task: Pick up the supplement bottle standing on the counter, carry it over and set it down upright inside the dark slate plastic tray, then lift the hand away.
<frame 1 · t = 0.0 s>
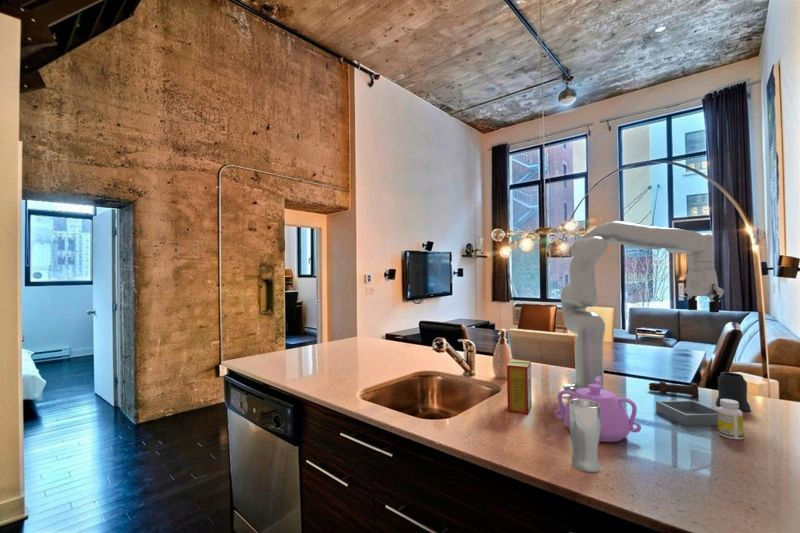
hand: (703, 311, 144), 31 cm above the worktop, tool pointing down, fingers open, 9 cm apart
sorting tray: (690, 418, 119), on the worktop
beer glass: (585, 467, 90), on the worktop
purple lidded sugar bowl: (596, 431, 110), on the worktop
supplement bottle: (730, 436, 106), on the worktop
mug: (731, 406, 129), on the worktop
baking soda box: (519, 409, 129), on the worktop
bolt: (672, 395, 143), on the worktop
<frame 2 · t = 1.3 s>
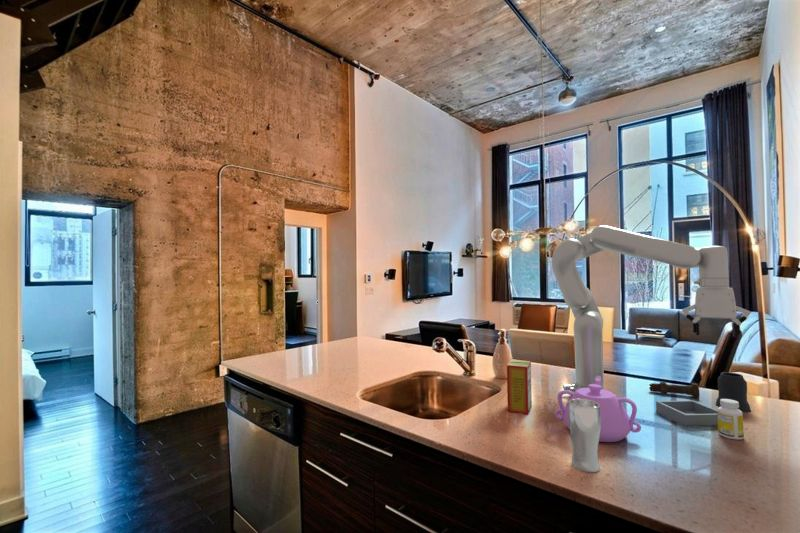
hand: (715, 335, 124), 25 cm above the worktop, tool pointing down, fingers open, 9 cm apart
nothing on the worktop moved.
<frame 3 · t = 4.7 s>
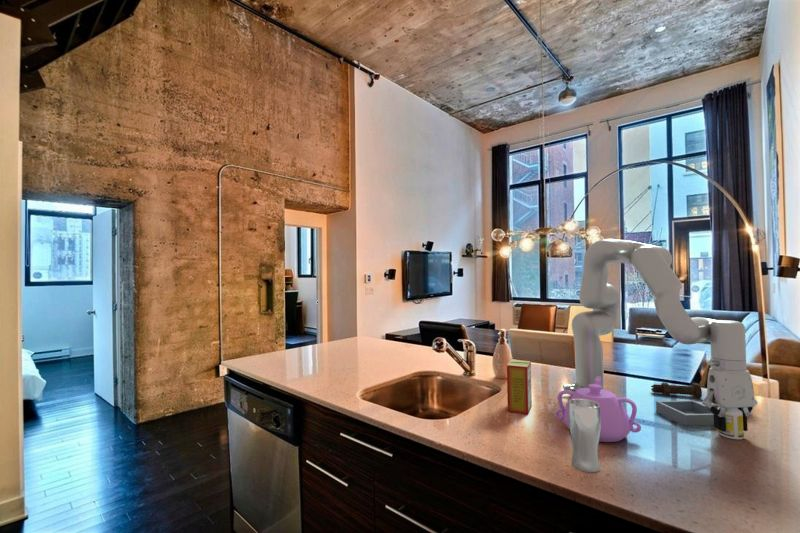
hand: (730, 428, 106), 2 cm above the worktop, tool pointing down, fingers closed on supplement bottle, 5 cm apart
supplement bottle: (730, 436, 106), on the worktop, touching gripper
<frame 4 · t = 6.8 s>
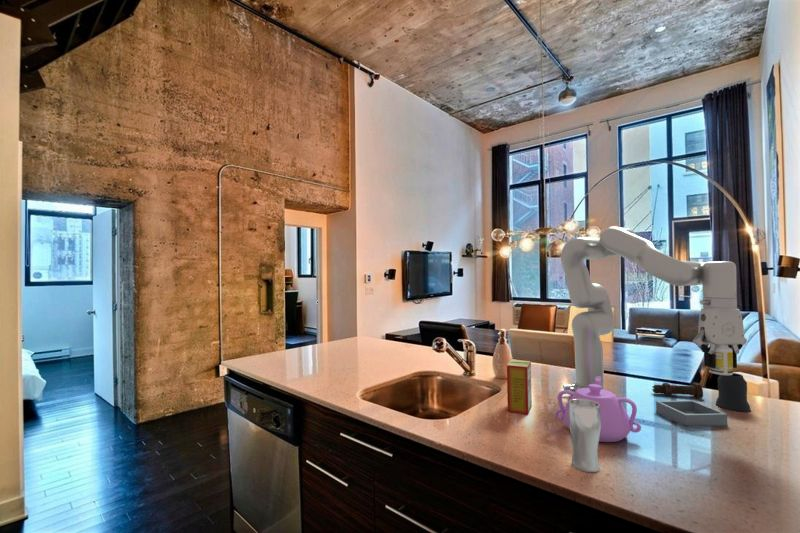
hand: (720, 366, 108), 19 cm above the worktop, tool pointing down, fingers closed on supplement bottle, 5 cm apart
supplement bottle: (720, 374, 108), point 17 cm above the worktop, touching gripper
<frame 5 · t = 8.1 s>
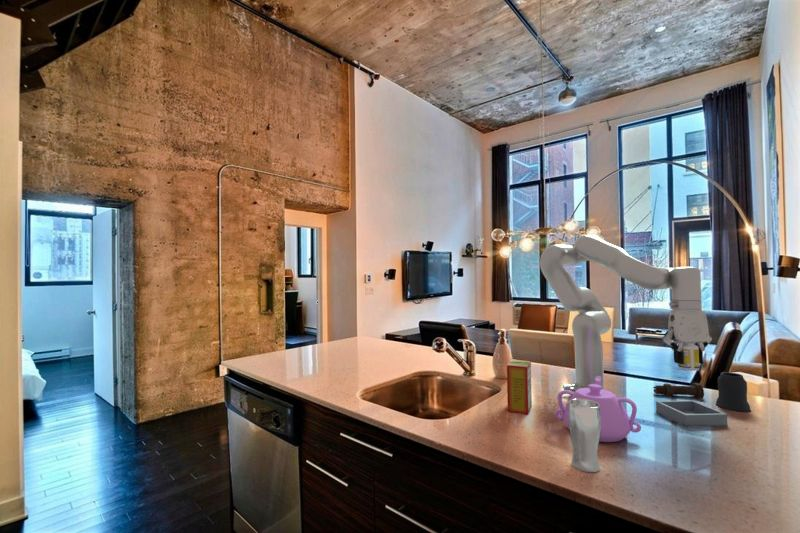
hand: (688, 362, 119), 18 cm above the worktop, tool pointing down, fingers closed on supplement bottle, 5 cm apart
supplement bottle: (688, 369, 119), point 15 cm above the worktop, touching gripper
when the fingers open (4 cm above the worktop, at t = 10.7 s): supplement bottle drops 2 cm, resting on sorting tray.
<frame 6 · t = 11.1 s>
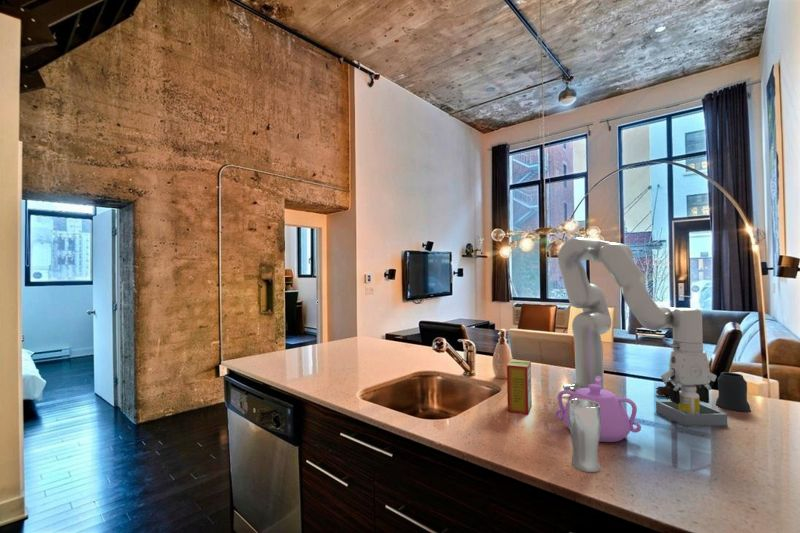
hand: (689, 401, 119), 5 cm above the worktop, tool pointing down, fingers open, 9 cm apart
supplement bottle: (688, 417, 119), resting on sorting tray
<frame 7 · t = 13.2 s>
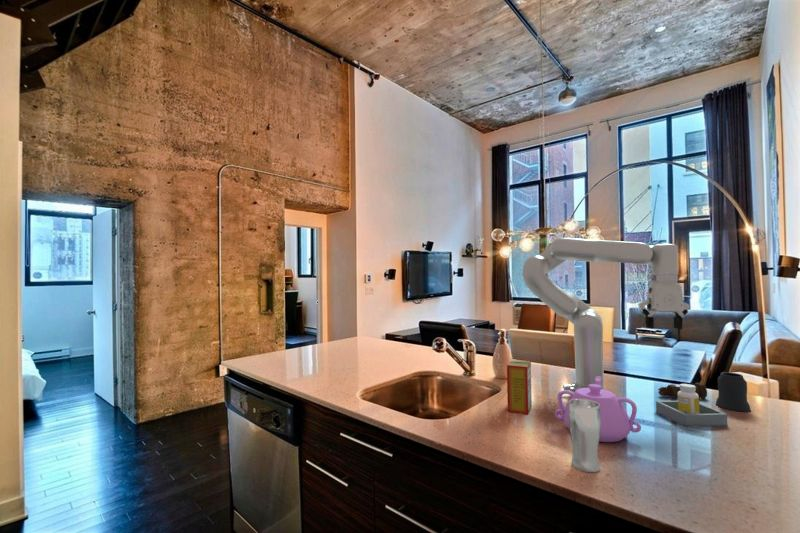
hand: (663, 328, 132), 27 cm above the worktop, tool pointing down, fingers open, 9 cm apart
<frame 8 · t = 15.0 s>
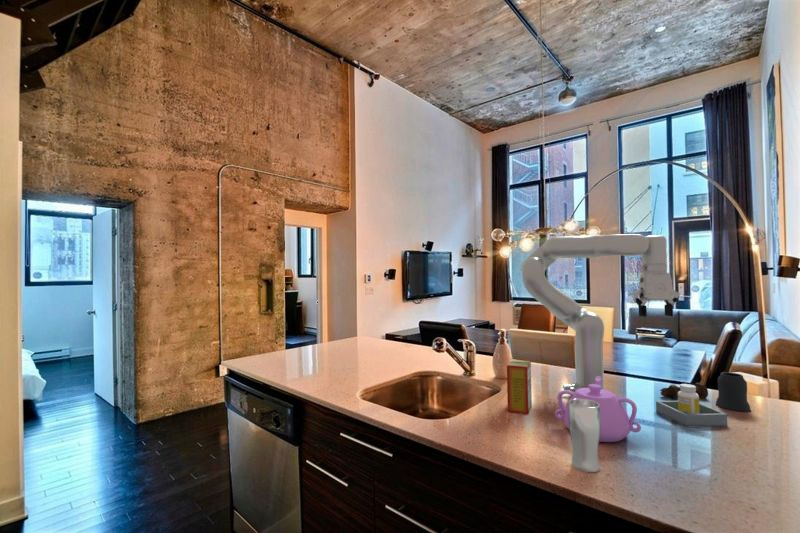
hand: (655, 316, 138), 30 cm above the worktop, tool pointing down, fingers open, 9 cm apart
at the end: supplement bottle inside the target area on the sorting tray (0.3 cm from its centre), point 0.3 cm above the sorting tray's base; supplement bottle tilted 0°; the gripper is holding nothing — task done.
